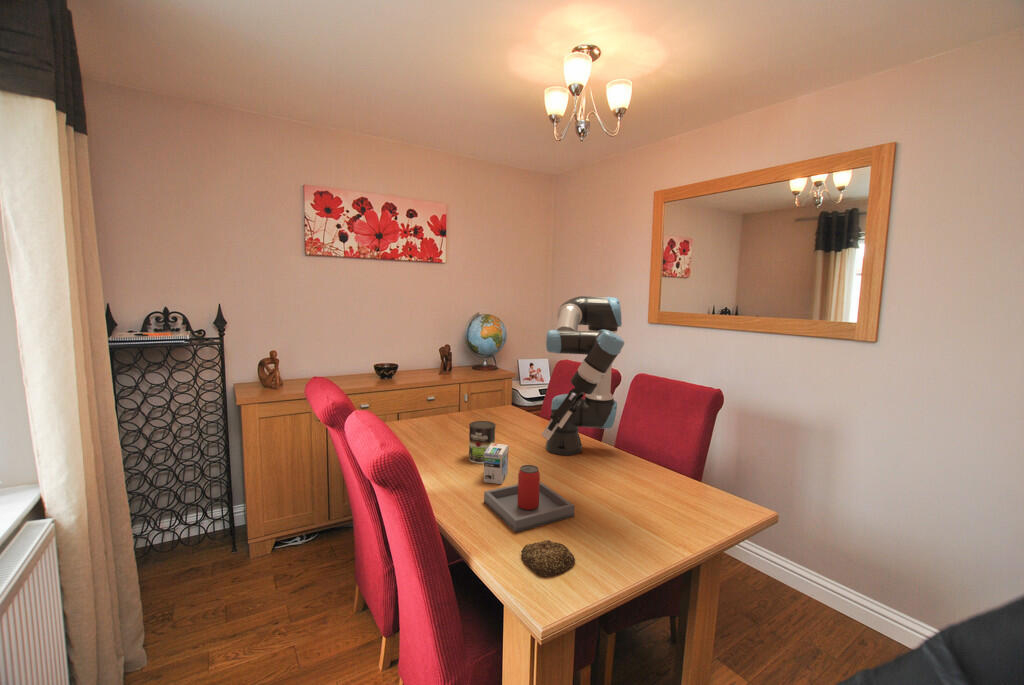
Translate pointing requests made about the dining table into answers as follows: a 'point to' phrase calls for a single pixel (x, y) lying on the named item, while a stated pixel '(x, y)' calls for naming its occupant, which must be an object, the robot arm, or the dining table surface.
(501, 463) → the light bulb box
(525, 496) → the beer can
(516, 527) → the tray
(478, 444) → the coffee can
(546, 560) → the bread roll
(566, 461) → the dining table surface
